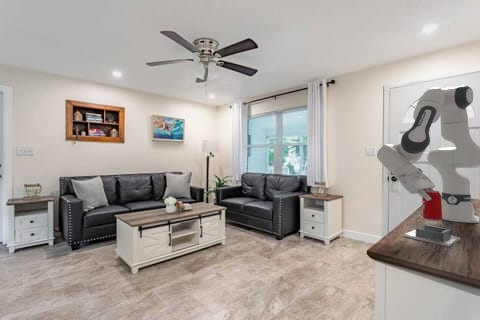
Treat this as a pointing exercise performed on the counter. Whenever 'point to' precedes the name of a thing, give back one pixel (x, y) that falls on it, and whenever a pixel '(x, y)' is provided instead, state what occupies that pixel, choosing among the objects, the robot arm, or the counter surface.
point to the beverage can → (432, 206)
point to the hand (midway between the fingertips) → (433, 199)
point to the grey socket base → (433, 235)
